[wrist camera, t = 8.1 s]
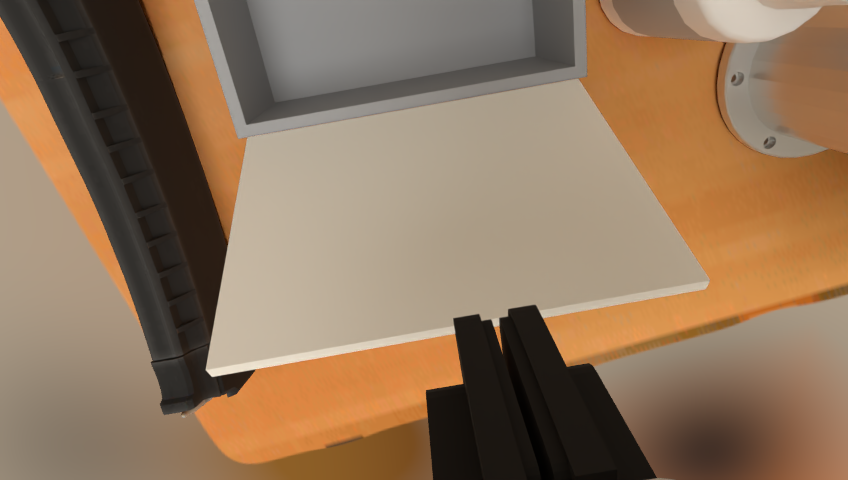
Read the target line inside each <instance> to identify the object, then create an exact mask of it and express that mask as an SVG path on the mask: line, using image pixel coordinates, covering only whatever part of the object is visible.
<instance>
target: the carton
mask: <svg viewBox="0 0 848 480" xmlns="http://www.w3.org/2000/svg"><path fill="white" fill-rule="evenodd" d="M194 2H195V5H196V8H197V11H198V14H199V17H200V21H201V24H202V27H203V30H204V33H205V36H206V39H207V42H208V46H209V49H210V52H211V55H212V58H213V61H214V64H215V68H216V71H217V74H218V77H219V80H220V83H221V86H222V89H223V93H224V96H225V99H226V102H227V105H228V108H229V111H230V115H231V118H232V121H233V124H234V127H235V130H236V133H237V136H238V139H240V138H245V137H251V136H257V135H262V134H268V133H273V132H279V131H285V130H290V129H296V128H301V127H307V126H313V125H318V124H324V123H330V122H335V121H341V120H346V119H352V118H358V117H363V116H369V115H374V114H380V113H386V112H391V111H397V110H403V109H408V108H414V107H419V106H425V105H431V104H436V103H442V102H447V101H453V100H459V99H464V98H470V97H476V96H481V95H487V94H492V93H498V92H504V91H509V90H515V89H520V88H526V87H532V86H537V85H543V84H549V83H554V82H560V81H565V80H571V79H577V78H582V77H587V46H586V6H585V0H194Z"/></svg>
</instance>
